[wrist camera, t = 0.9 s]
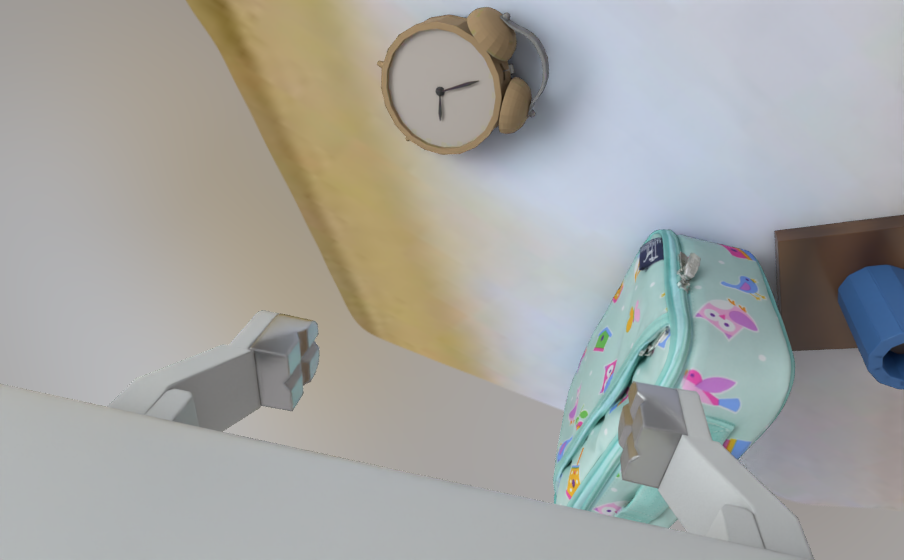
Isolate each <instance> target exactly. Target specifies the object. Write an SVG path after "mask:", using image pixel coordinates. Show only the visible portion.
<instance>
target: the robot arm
mask: <svg viewBox="0 0 904 560" xmlns="http://www.w3.org/2000/svg"><path fill="white" fill-rule="evenodd" d="M317 335H318V324H317V323H316V322H315V321H313V320H308V319H303V318H299V317H294V316H290V315H285V314H279V313H274V312H270V311H265V310H261V311H259V312H257V313H256V314H255V315H254V317H253V318H252V319H251V320H250V321H249V322H248V324H247V325H246V326H245V327H244V328H243V329H242V330H241V331H240V333H239V334H238V335H237V336H236V337H235V338H234V339H233V341H232V342H231V343H230V344H229V345H224V344H223V345H220V346H217V347H215V348H212V349H210V350H208V351H205V352H203V353H200V354H197V355H195V356H192V357H190V358H187V359H185V360H182V361H180V362H177V363H174V364H172V365H169V366H167V367H165V368H162V369H159V370H157V371H154V372H152V373H149V374H146V375H144V376H142V377H139V378H137V379H135V380H134V381H133V382H132V383H131V384H130V385H129V386H128V387H127V388H126V389H125V390H124V391H123V392H122V393H121V394H120V395H118V396H117V397H116V398H115V399H114V401H112V402H111V403H110V404H109V405H108V406H107V407H106V406H101V405H96V404H92V403H87V402H82V401H78V400H73V399H69V398H64V397H60V396H55V395H50V394H46V393H41V392H36V391H32V390H27V389H23V388H18V387H13V386H9V385H4V384H0V560H814V557H813V555H812V552H811V550H810V547H809V545H808V542H807V539H806V537H805V534H804V532H803V529H802V527H801V524H800V522H799V519H798V517H797V516H796V515H794V514H793V512H791V511H790V510H789V509H788V508H787V507H786V506H785V505H784V504H783V503H782V502H781V501H780V500H779V499H778V498H777V497H776V496H775V495H774V494H773V493H772V492H771V491H769V490H768V489H767V488H766V487H765V486H764V485H763V484H762V483H761V482H760V481H759V480H758V479H757V478H756V477H755V476H754V475H753V474H752V473H751V472H750V471H749V470H747V469H746V468H745V467H744V466H743V465H742V464H741V463H740V462H739V461H738V460H737V459H736V458H735V457H734V456H733V455H732V454H731V453H730V452H729V451H728V450H727V449H725V448H724V447H723V446H722V445H721V444H720V443H719V442H716V441H713V440H712V437H711V434H710V430H709V427H708V423H707V420H706V416H705V413H704V410H703V406H702V403H701V399H700V396H699V394H698V393H697V392H696V391H690V390H684V389H678V388H675V389H674V388H669V387H663V386H658V385H652V384H647V383H642V382H636V381H633V382H632V384H631V386H630V388H629V391H628V399H629V403H628V404H626V405H625V406H623V409H622V412H621V415H620V420H619V426H618V442H619V445H620V446H621V447H622V448H623V451H622V454H621V457H620V463H621V473H622V480H624V481H628V482H632V483H636V484H641V485H645V486H649V487H653V488H658V491H659V493H660V494H661V495H662V497H663V498H664V500H665V501H666V503H667V504H668V506H669V507H670V508H671V510H672V511H673V513H674V514H675V516H676V517H677V519H678V520H679V521H680V523H681V524H682V526H683V527H684V529H685V530H686V532H683V531H678V530H674V529H669V528H665V527H660V526H655V525H651V524H646V523H642V522H637V521H632V520H627V519H623V518H618V517H613V516H609V515H604V514H599V513H595V512H590V511H586V510H581V509H576V508H572V507H567V506H563V505H558V504H553V503H549V502H544V501H540V500H535V499H530V498H526V497H521V496H517V495H512V494H508V493H502V492H498V491H494V490H489V489H485V488H480V487H475V486H471V485H466V484H461V483H457V482H451V481H447V480H443V479H438V478H433V477H429V476H424V475H419V474H414V473H410V472H405V471H400V470H396V469H392V468H387V467H382V466H377V465H373V464H368V463H364V462H359V461H355V460H350V459H345V458H341V457H336V456H331V455H327V454H322V453H318V452H313V451H308V450H303V449H299V448H295V447H290V446H285V445H281V444H276V443H271V442H267V441H262V440H257V439H253V438H249V437H244V436H239V435H234V434H230V433H225V432H223V431H224V430H225V429H227V428H229V427H230V426H232V425H234V424H235V423H237V422H238V421H240V420H242V419H243V418H245V417H246V416H248V415H249V414H251V413H252V412H254V411H255V410H257V409H259V408H260V407H261V406H266V407H271V408H277V409H283V410H288V411H293V409H294V408H295V406H296V405H297V403H298V401H299V400H300V398H301V397H302V395H303V385H305V384H306V383H309V382H311V380H312V378H313V377H314V375H315V372H316V369H317V366H318V362H319V347H318V345H317V344H316V343H315V341H314V340H315V338H316V337H317Z"/></svg>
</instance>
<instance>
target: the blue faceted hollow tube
mask: <svg viewBox="0 0 904 560" xmlns="http://www.w3.org/2000/svg"><path fill="white" fill-rule="evenodd" d="M838 303H839V305H840V308H841V310H842V312H843V315H844V317H845V319H846V321H847V324H848V326H849V328H850V331H851V333H852V335H853V338H854V340H855V342H856V344H857V347H858V349H859V351H860V354H861V356H862V358H863V360H864V363H865V365H866V367H867V370H868V371H869V372H870V373H871V374H872V376H873V377H874V378H875V379H876V380H877V381H878V382H879V383H882V384H885V385H888V386H890V387H893V388H896V389H904V354H897V353H894V352H892V351H891V350H890V349H891V348H892V347H895V346H897V345H900V344H902V343H904V269H901V268H898V267H895V266H891V265H877V266H868V267H864V268H862V269H860V270H858V271H856V272H854V273H852V274H850V275H849V276H848V277H847V278H846V279H845V280H844V282H843V283H842V284H841V285H840V287H839V288H838Z"/></svg>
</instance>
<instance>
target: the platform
mask: <svg viewBox="0 0 904 560" xmlns="http://www.w3.org/2000/svg"><path fill="white" fill-rule="evenodd" d="M774 232H775V253H776V273H777V294H778V310H779V313H780V315H781V318H782V320H783V323H784V326H785V330H786V333H787V336H788V339H789V342H790V345H791V348H792V351H801V350H824V349H847V348H858V347H857V344H856V342H855V340H854V338H853V335H852V333H851V331H850V328H849V326H848V324H847V321H846V319H845V317H844V315H843V312H842V310H841V308H840V305H839V303H838V288H839V287H840V285H841V284H842V283H843V282H844V280H845V279H846V278H847V277H848V276H849V275H850V274H852V273H854V272H856V271H858V270H860V269H862V268H864V267H868V266H877V265H891V266H895V267H898V268H901V269H904V215H899V216H891V217H883V218H875V219H867V220H858V221H850V222H842V223H834V224H826V225H818V226H810V227H802V228H794V229H786V230H778V231H774ZM890 350H891V351H892V352H894V353H897V354H904V343H902V344H900V345H897V346H895V347H892V348H891V349H890Z"/></svg>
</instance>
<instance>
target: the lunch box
mask: <svg viewBox="0 0 904 560" xmlns="http://www.w3.org/2000/svg"><path fill="white" fill-rule="evenodd" d="M794 376H795V361H794V356H793V352H792V348H791V345H790V342H789V339H788V336H787V333H786V330H785V326H784V323H783V320H782V318H781V315H780V313H779V310H778V307H777V305H776V302H775V299H774V296H773V294H772V291H771V288H770V286H769V284H768V281H767V279H766V276H765V274H764V272H763V269H762V267H761V266H760V264H759V262H758V260H757V259H756V258H755V257H754V256H753V255H752V254H751V253H750V252H749V251H747V250H743V249H739V248H735V247H729V246H725V245H722V244H717V243H712V242H708V241H704V240H700V239H696V238H690V237H687V236H684V235H676V234H675V233H674V232H673V231H671V230H665V229H663V230H657V231H655V232H653V233H652V234H651V235H650V236H649V237H648V238H647V240H646V241H645V242H644V244H643V245H642V247H641V248H640V250H639V252H638V254H637V256H636V257H635V259H634V261H633V263H632V265H631V267H630V268H629V270H628V272H627V274H626V276H625V278H624V280H623V282H622V284H621V286H620V288H619V289H618V291H617V292H616V294H615V296H614V298H613V300H612V302H611V303H610V305H609V307H608V309H607V311H606V313H605V315H604V316H603V318H602V320H601V321H600V323H599V324H598V326H597V328H596V329H595V331H594V333H593V335H592V337H591V339H590V341H589V343H588V345H587V347H586V349H585V351H584V354H583V356H582V358H581V361H580V363H579V367H578V370H577V372H576V374H575V376H574V378H573V381H572V383H571V386H570V389H569V392H568V396H567V400H566V404H565V410H564V415H563V421H562V427H561V432H560V437H559V442H558V448H557V454H556V460H555V472H554V478H553V482H554V483H553V484H554V490H555V495H554V504H558V505H563V506H567V507H572V508H576V509H581V510H586V511H590V512H595V513H599V514H604V515H609V516H613V517H618V518H623V519H627V520H632V521H637V522H642V523H646V524H651V525H655V526H660V527H665V528H669V527H670V526H671V525H672V524H673V523H674V522H675V521H676V520H677V517H676V516H675V514H674V513H673V511H672V510H671V508H670V507H669V506H668V504H667V503H666V501H665V500H664V498H663V497H662V495H661V494H660V493H659V491H658V488H653V487H649V486H645V485H641V484H636V483H632V482H628V481H624V480H622V473H621V463H620V457H621V454H622V451H623V448H622V447H621V446H620V445H619V442H618V426H619V420H620V415H621V412H622V409H623V406H625V405H626V404H628V403H629V399H628V391H629V388H630V386H631V384H632V382H633V381H636V382H642V383H647V384H652V385H658V386H663V387H669V388H674V389H675V388H678V389H684V390H690V391H696V392H697V393H698V394H699V396H700V399H701V403H702V406H703V410H704V413H705V416H706V420H707V423H708V427H709V430H710V434H711V437H712V440H713V441H716V442H719V443H720V444H721V445H722V446H723V447H724V448H725V449H727V450H728V451H729V452H730V453H731V454H732V455H733V456H734V457H735V458H736V459H737V460H738V459H739V458H740V457H741V456H742V455H743V454H744V453H745V451H746V450H747V449H748V448H749V447H750V446H751V445H752V444H753V443H754V442H755V441H756V440H757V439H758V438H759V437H760V436H761V435H762V434H763V433H764V432H765V431H766V430H767V428H768V427H769V426H770V425H771V424H772V423H773V421H774V420H775V419H776V418H777V416H778V415H779V413H780V412H781V410H782V408H783V407H784V405H785V403H786V401H787V399H788V396H789V394H790V391H791V388H792V385H793V381H794Z"/></svg>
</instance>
